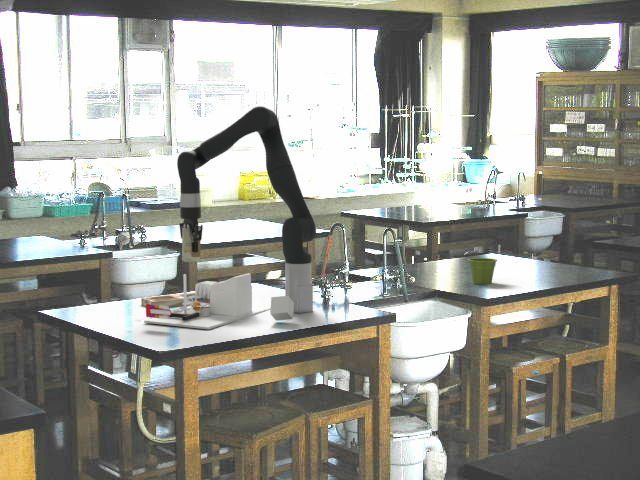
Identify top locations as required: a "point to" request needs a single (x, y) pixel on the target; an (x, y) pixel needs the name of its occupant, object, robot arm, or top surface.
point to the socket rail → (166, 300)
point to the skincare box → (189, 247)
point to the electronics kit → (209, 305)
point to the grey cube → (282, 308)
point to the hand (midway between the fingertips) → (191, 251)
